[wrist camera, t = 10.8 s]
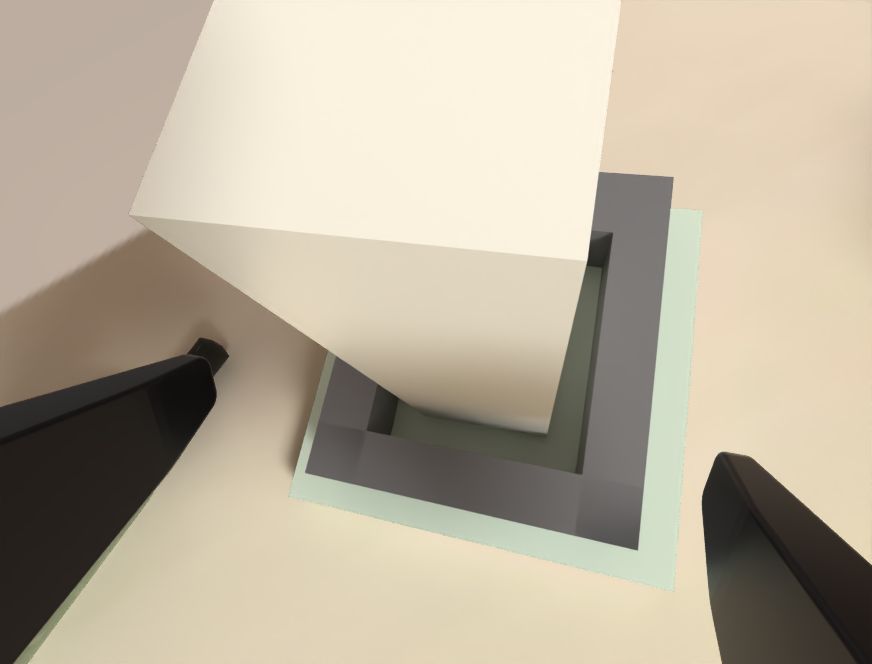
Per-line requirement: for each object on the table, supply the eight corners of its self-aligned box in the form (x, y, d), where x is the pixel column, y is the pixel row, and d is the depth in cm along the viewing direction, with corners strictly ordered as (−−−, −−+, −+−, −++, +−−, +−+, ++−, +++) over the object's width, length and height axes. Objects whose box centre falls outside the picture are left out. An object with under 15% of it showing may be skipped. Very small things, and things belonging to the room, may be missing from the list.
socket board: (661, 582, 15) (701, 612, 12) (307, 495, 18) (248, 497, 14) (689, 232, 18) (729, 166, 15) (383, 204, 21) (351, 143, 17)
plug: (546, 437, 16) (586, 260, 4) (424, 415, 17) (128, 215, 5) (571, 258, 17) (658, -283, 5) (458, 247, 18) (308, -236, 6)
